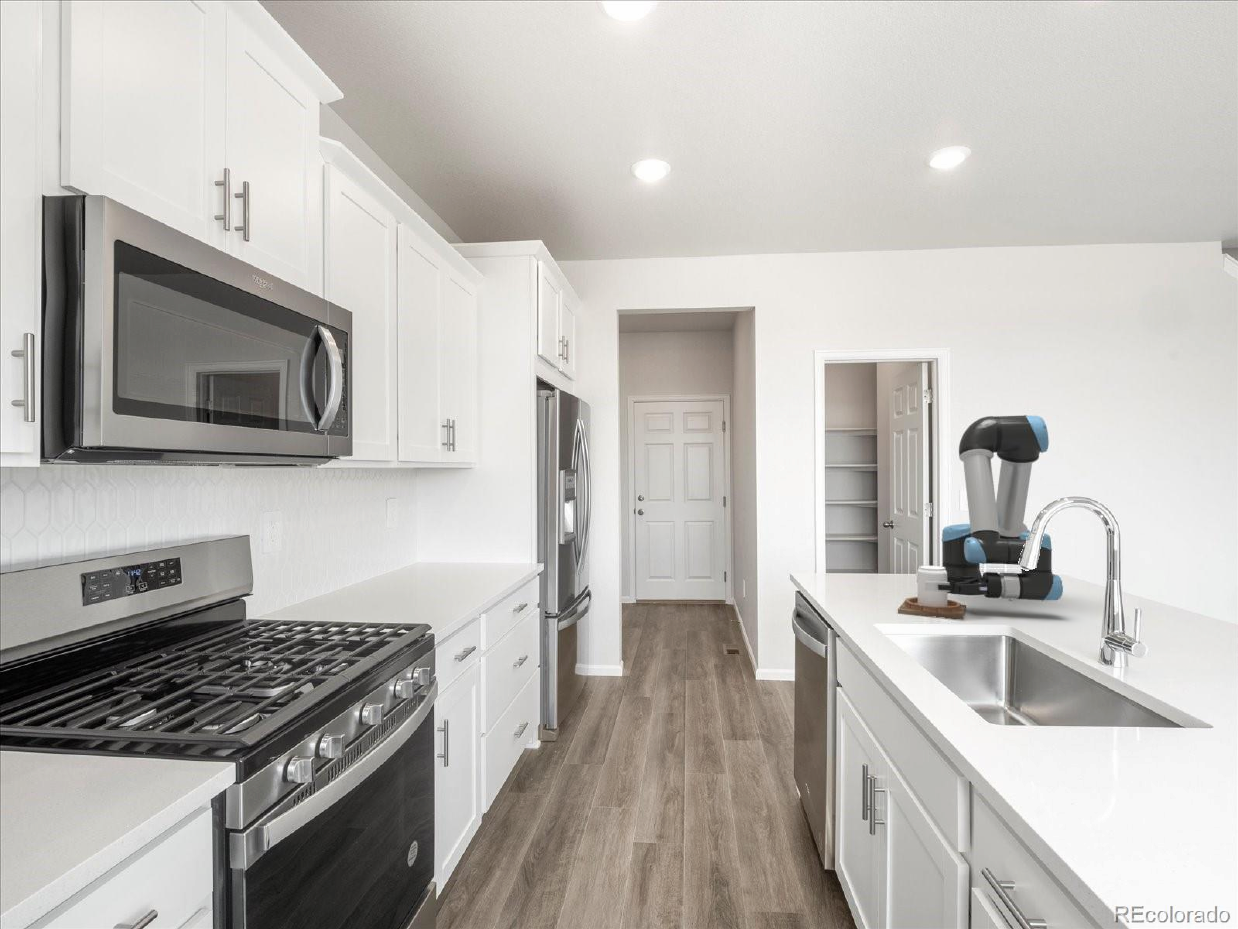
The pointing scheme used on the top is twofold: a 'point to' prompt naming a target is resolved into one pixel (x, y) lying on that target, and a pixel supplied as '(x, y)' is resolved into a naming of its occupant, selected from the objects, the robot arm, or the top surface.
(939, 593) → the beverage can
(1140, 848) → the top surface
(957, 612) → the coaster board
